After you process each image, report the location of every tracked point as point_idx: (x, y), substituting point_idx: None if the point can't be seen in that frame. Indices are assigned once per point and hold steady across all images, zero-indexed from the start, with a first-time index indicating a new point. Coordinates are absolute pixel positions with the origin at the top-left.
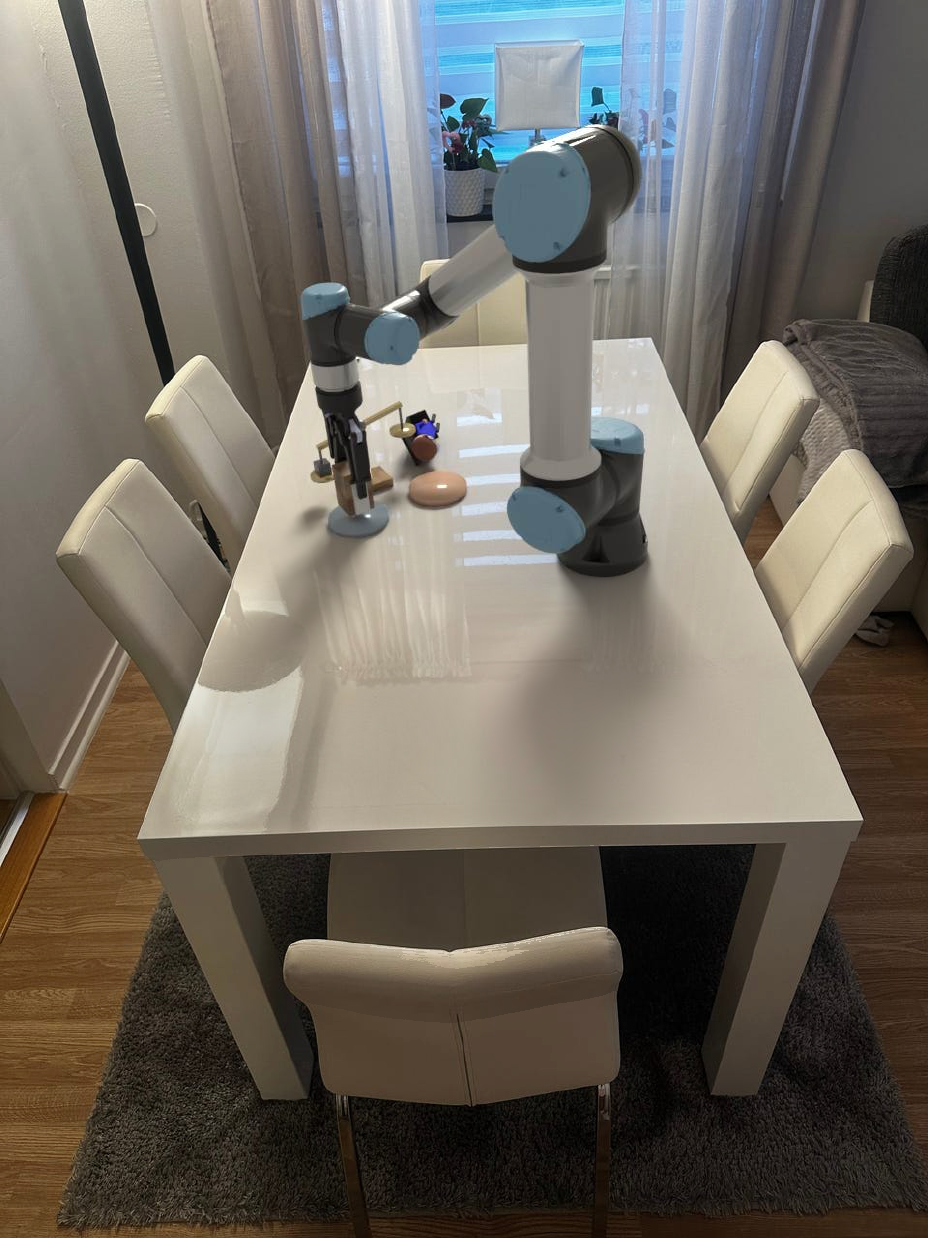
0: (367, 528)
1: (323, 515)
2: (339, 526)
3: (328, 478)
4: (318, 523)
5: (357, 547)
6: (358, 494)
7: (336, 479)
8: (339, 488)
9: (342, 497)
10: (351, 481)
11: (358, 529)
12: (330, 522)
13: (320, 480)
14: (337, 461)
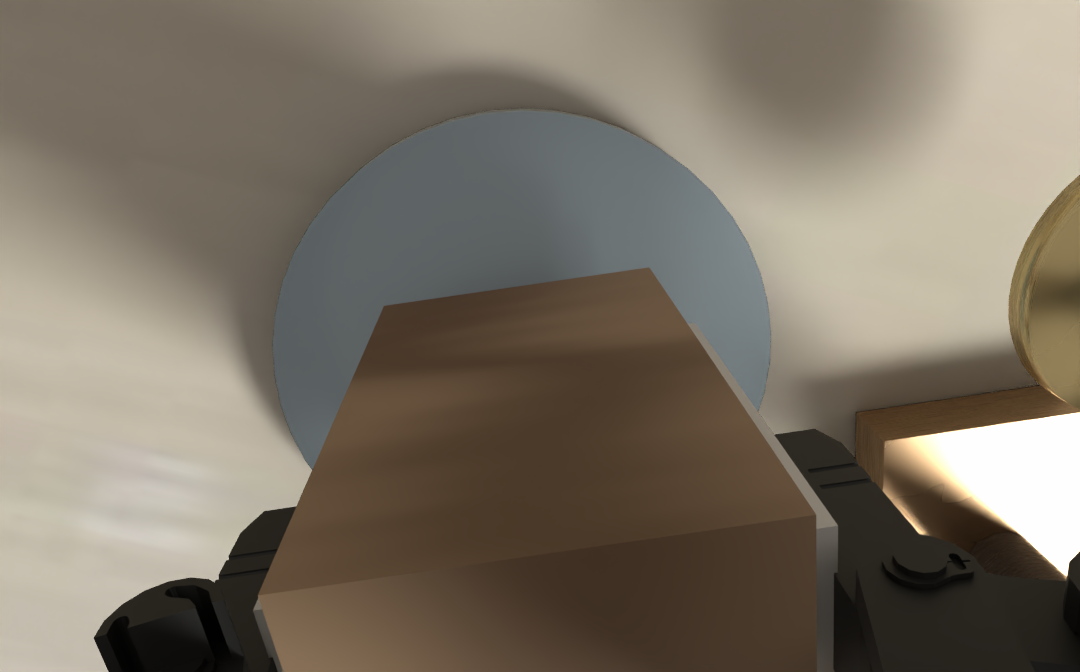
0: (296, 381)
1: (755, 110)
2: (423, 182)
3: (1044, 307)
4: (654, 32)
5: (148, 237)
6: (276, 541)
7: (627, 416)
8: (555, 376)
9: (493, 345)
10: (144, 648)
11: (307, 315)
12: (523, 124)
13: (1069, 216)
14: (871, 628)
